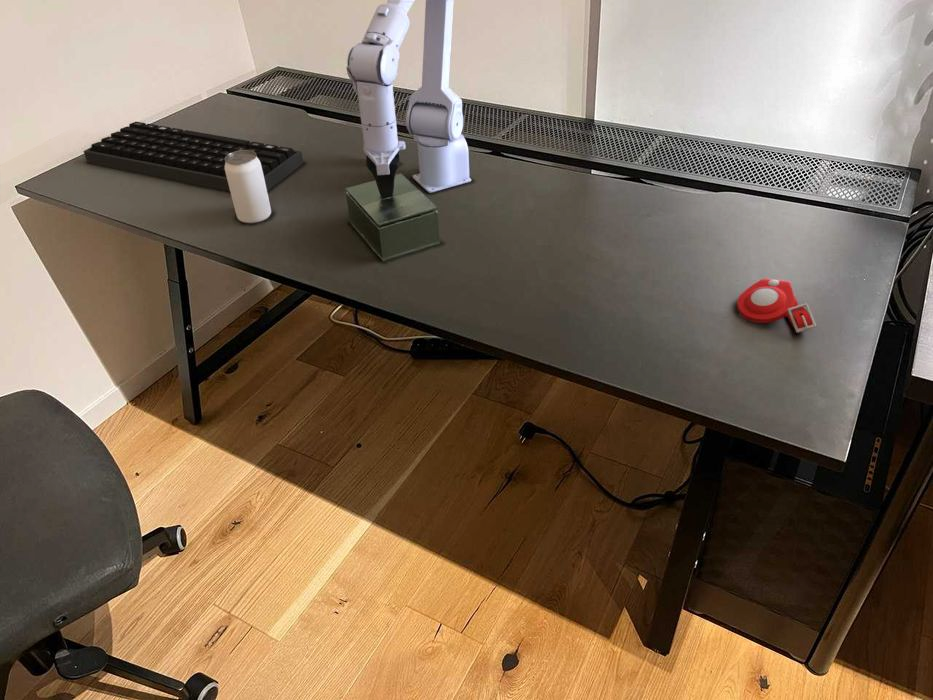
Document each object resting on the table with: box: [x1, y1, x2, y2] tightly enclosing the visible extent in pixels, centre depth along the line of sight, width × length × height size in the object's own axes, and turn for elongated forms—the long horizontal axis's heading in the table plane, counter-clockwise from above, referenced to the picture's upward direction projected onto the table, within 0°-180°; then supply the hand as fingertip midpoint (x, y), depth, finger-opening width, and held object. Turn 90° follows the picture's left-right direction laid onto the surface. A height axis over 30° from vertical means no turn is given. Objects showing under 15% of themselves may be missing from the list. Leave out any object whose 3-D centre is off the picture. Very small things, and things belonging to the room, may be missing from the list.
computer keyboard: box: [83, 121, 304, 192], centre depth 162 cm, size 45×16×4 cm, turn 66°
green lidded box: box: [345, 189, 441, 263], centre depth 135 cm, size 15×11×7 cm
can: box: [225, 150, 272, 224], centre depth 141 cm, size 6×6×12 cm
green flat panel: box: [345, 173, 419, 207], centre depth 136 cm, size 7×11×1 cm
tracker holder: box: [736, 278, 817, 333], centre depth 114 cm, size 12×4×10 cm
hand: (386, 194), depth 134 cm, fingers closed, pressing on green flat panel
